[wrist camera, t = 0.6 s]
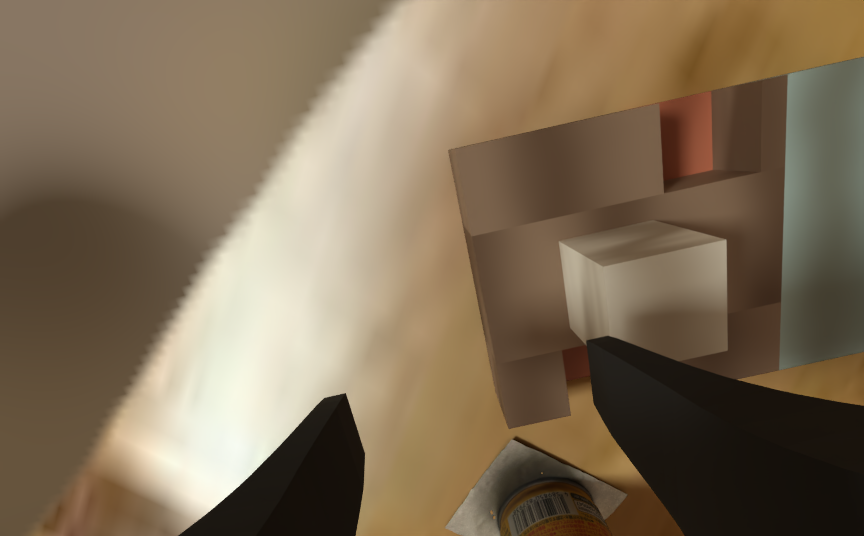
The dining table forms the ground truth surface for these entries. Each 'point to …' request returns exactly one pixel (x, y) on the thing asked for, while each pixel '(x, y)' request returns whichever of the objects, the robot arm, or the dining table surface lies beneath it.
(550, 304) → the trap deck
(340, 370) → the dining table surface
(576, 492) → the condiment
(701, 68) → the dining table surface
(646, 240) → the block
